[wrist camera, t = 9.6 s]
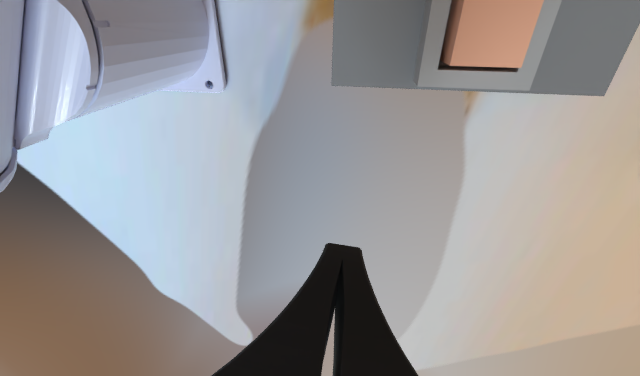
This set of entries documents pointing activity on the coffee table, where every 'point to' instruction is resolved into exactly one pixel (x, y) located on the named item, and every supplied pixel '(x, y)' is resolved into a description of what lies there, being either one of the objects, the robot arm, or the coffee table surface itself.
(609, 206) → the coffee table surface
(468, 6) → the push button
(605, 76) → the panel
